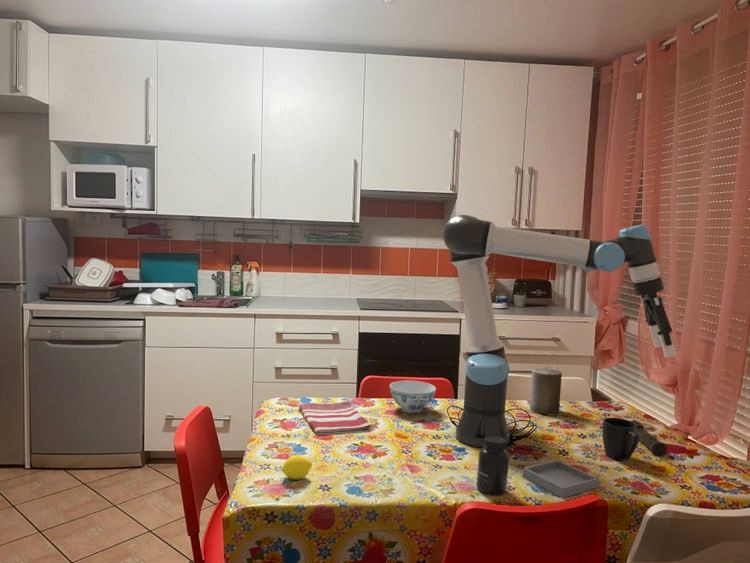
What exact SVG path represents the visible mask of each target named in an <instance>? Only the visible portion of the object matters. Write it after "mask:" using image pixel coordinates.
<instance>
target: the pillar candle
mask: <svg viewBox="0 0 750 563" xmlns="http://www.w3.org/2000/svg"><path fill="white" fill-rule="evenodd" d="M531 371H532V372H531V384H530V386H531V387H530V398H529V399H530V400H529V409H530V411H531V412H533V413H536V414H540V415H548V416H552V415H553V416H555V415H558V414H559V413H560V405H561V403H560V401H561V390H562V389H561V388H562V377H563V376H562V371H561V370H558V369H554V368H549V367H547V368H546V367H536V368H532V370H531Z"/></svg>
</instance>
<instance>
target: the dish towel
mask: <svg viewBox="0 0 750 563" xmlns="http://www.w3.org/2000/svg"><path fill="white" fill-rule="evenodd" d="M298 409H299V411H300V412H301V414H302V415H303V418H304V419H305V420H306V422H307V423H308V424H309V427H310V428H311V429H312V431H313V432H314V433H315V435H317V436H322V435H338V434H351V433H353V434H354V433H365V432H370V429H371V428H372V427H371V424H370V423H369V421H368V420H367V419H365V418H364V417H363V416H362V415H361V413H360V412H358V410H356V409H355V408H354V407H353V406H352V404H351V401H350V400H349V401H343V402H335V403H316V402H315V403H314V402H308V403H307V402H306V403H303V404H300V405H299V407H298Z"/></svg>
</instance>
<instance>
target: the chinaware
mask: <svg viewBox="0 0 750 563" xmlns="http://www.w3.org/2000/svg"><path fill="white" fill-rule="evenodd" d="M389 389H390V390H389V391H390V394H391V397H392V399H393V401H394V402H395V404H397V405H398V406H399V407H400V408H401V410H402V411H403V412H406V413H409V414H418V413H421V412H422V410H423V408H425V407H427V406H428V405H429V404H430V403H431V402H432V400H434V396H435V394H436V390H437V388H436V386H435V385H433V384H431V383H429V382H424V381H418V380H399V381H394V382H391V383H390V384H389Z"/></svg>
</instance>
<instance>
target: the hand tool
mask: <svg viewBox="0 0 750 563" xmlns="http://www.w3.org/2000/svg"><path fill="white" fill-rule="evenodd" d="M630 421H631V422H633V423H635V424H636V433H637V434H638V435H639V442H640V443H641V444H643V445H645V447H647V449H649V450H650V452H651V454H652V455H653V457H654V456H656V457H663V456H665V455H666V453H667V450H668V446H667V444H666V443H664V442H661V441H660V440H658V438H657V437H656V436H654V435H652V434H651V433H649V432H648V431H647V429H646V428H645V426H644V425H643V424H642V423H641V422H640V421H637V420H635V419H632V420H630Z"/></svg>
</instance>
